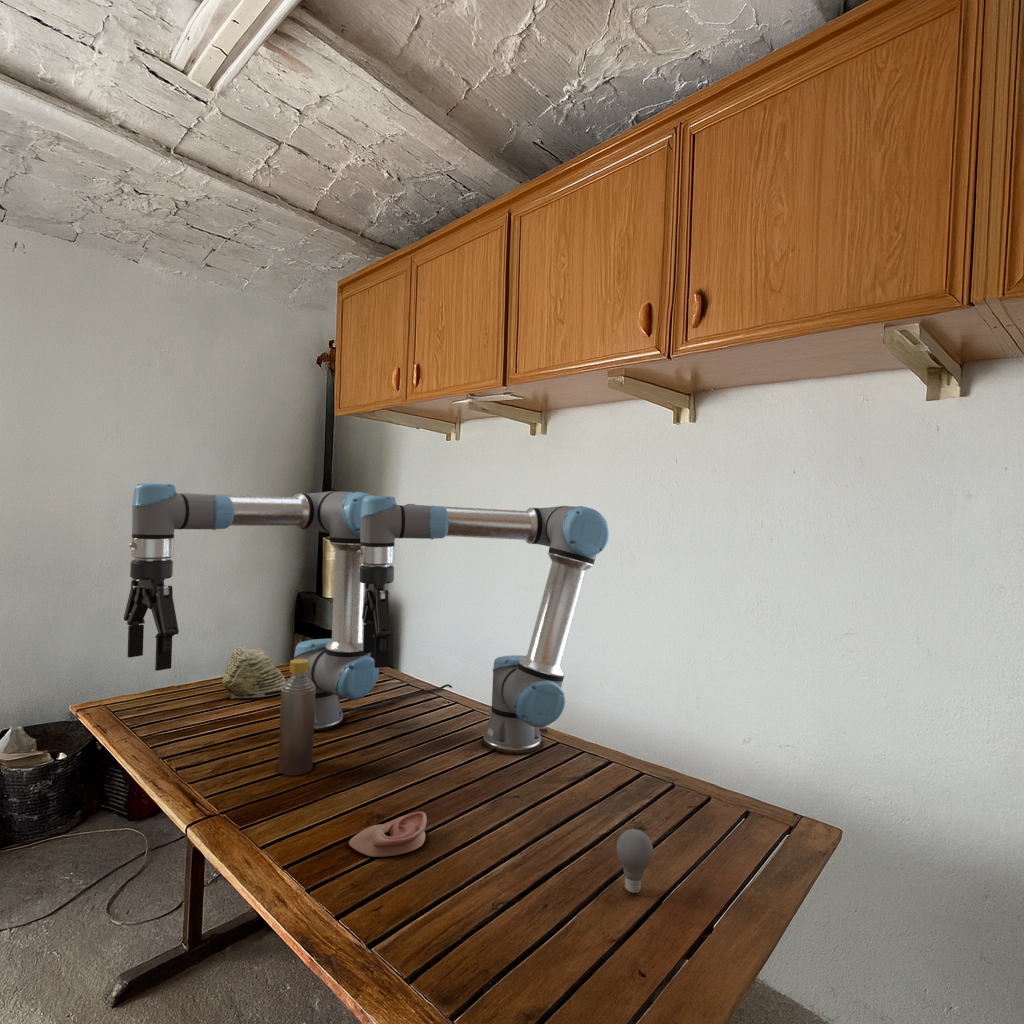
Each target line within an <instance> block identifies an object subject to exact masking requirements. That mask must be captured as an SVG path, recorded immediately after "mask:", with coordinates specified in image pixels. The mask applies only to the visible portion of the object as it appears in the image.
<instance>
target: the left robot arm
mask: <svg viewBox="0 0 1024 1024" xmlns="http://www.w3.org/2000/svg"><path fill="white" fill-rule="evenodd" d="M366 496H373V494H370V493H367V492H363V491H362V492H361V491H337V490H336V491H335V490H333V491H332V490H330V491H321V492H311V493H295V494H294V495H293V496H276V495H275V496H274V495H273V496H272V495H248V494H247V495H246V494H244V495H243V494H220V493H219V494H218V493H217V494H216V493H215V494H214V493H189V492H187V493H186V492H177V491H176V486H175V485H174V484H173V483H152V482H139V483H137V484H136V485H135V486H134V488H133V492H132V501H131V520H132V521H131V542H130V543H128V547H129V548H130V549H131V550H130V556H131V558H133V559H132V560H131V561H130V567H129V568H130V571H129V574H130V575H129V576H130V578H131V581H130V590H129V594H128V598H127V603H126V607H125V610H124V615H123V621H124V622H126V624H127V626H128V629H127V630H128V631H127V658H135V657H142V656H144V635H145V634H144V630H145V625H144V624H145V623H146V621H145V619H144V618H145V616H146V615H147V612H148V609H149V610H151V613H152V618H153V620H154V624H155V627H156V631H157V633H156V635H155V636H154V638H155V661H154V663H155V665H154V668H155V669H154V670H155V671H157V672H159V671H164V670H169V669H172V659H173V657H172V655H173V637H175V636H176V635H179V632H180V631H179V625H178V619H177V615H176V614H177V613H176V609H175V603H174V597H173V595H174V593H173V585H165V580H167V579H171V578H172V577H173V575H174V573H173V572H174V561H173V560H172V559H171V558H173V557H174V554H175V553H174V552H175V530H213V531H215V530H224V529H228V528H230V526H233V527H234V526H237V527H238V526H240V527H243V526H246V527H247V526H249V527H250V526H258V527H259V526H268V527H269V526H276V527H277V526H282V527H284V526H285V527H286V526H287V527H288V526H289V527H290V526H291V527H293V528H294V529H296V530H308V531H309V530H310V531H316V532H319V533H325V534H329V544H330V545H331V546H332V547H333V548H334V550H335V551H334V572H333V573H334V577H333V599H332V625H331V626H332V627H331V638H317V639H308V640H304V641H300V642H299V643H297V645H296V646H295V650H294V655H293V657H294V659H307V660H309V670H308V672H306V673H305V675H307V677H309V678H310V680H312V682H313V683H314V684H315V687H316V691H315V717H314V733H316V732H325V731H329V730H332V729H335V728H337V727H339V726H340V725H342V723H343V722H344V714H343V712H346V711H349V712H350V711H364V710H365V711H366V710H370V709H375V708H379V707H382V706H386V705H389V704H392V703H394V702H396V701H399V700H402V699H405V698H408V697H411V696H416V695H420V694H426V693H431V692H436V691H440V690H442V689H445V688H447V687H448V688H450V689H453V686H452V685H451V684H450V683H449V684H444V685H442V686H440V687H436V688H431V689H424V690H419V691H414V692H410V693H408V694H404V695H402V696H398V697H395V698H393V699H391V700H388V701H385V702H381V703H378V704H374V705H369V706H363V707H343V708H342V706H341V702H340V699H339V698H341V699H342V700H343V699H344V700H348V701H349V700H350V701H357V700H360V699H362V698H364V697H365V696H367V695H368V694H370V692H371V690H372V689H374V687H375V685H376V683H377V682H378V678H379V674H380V672H379V671H380V670H379V669H380V668H375V667H374V661H375V658H374V657H371V653H372V652H368V653H363V632H364V622H363V619H362V613H363V605H364V597H365V583H361V582H360V580H359V577H360V567H361V566H362V565H363V564H362V563H360V555H361V554H358V550H361V548H360V547H361V545H360V533H361V517H360V516H361V507H362V500H363V498H364V497H366Z"/></svg>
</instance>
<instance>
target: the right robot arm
mask: <svg viewBox="0 0 1024 1024" xmlns="http://www.w3.org/2000/svg"><path fill="white" fill-rule="evenodd" d="M360 517H361V533H360V545H361V547H360V548H361V550H358V554H361V555H360V563H362V564H363V565H362V566H361V567H360V577H359V580H360V582H361V583H365V597H364V605H363V613H362V619H363V622H364V632H363V653H368V652H371V653H374V660H375V661H374V667H375V668H379V669H380V668H381V669H382V668H388V665H389V637H391V636H392V628H391V616H390V603H389V595H390V591H389V590H388V589H385V585H386V584H391V583H394V580H395V567H394V564H395V556H396V555H395V553H396V551H395V549H396V545H395V541H396V539H418V540H419V539H422V540H423V539H425V540H427V539H428V540H429V539H430V540H435V539H444V538H445V537H455V538H478V539H497V540H498V539H499V540H517V541H518V540H519V541H523V540H524V541H525V542H526V543H527V544H528V545H538V546H539V545H540V546H545V547H548V552H547V555H548V556H549V558H550V560H551V564H550V568H549V571H548V575H547V579H546V583H545V587H544V591H543V595H542V597H541V602H540V604H539V605H540V606H539V609H538V614H537V617H536V621H535V624H534V628H533V631H532V635H531V639H530V643H529V647H528V650H527V653H526V655H521V654H519V655H518V654H517V655H514V654H512V655H502V656H501V655H500V656H497V657H496V658H494V661H493V666H492V667H493V668H492V691H491V713H490V716H489V719H488V721H487V724H486V727H485V729H484V732H483V741H482V743H483V745H484V746H485V747H486V748H487V749H489V750H492V751H494V752H498V753H502V754H507V755H508V754H509V755H520V754H521V755H522V754H528V753H532V752H534V751H537V750H538V749H540V747H541V746H542V745H541V744H542V735H541V733H548V728H544V727H547V726H550V725H552V724H553V723H554V722H556V721H557V720H558V719H559V718H560V717H561V715H562V713H563V712H564V710H565V705H566V696H565V693H564V690H563V688H562V687H563V683H564V678H565V675H566V674H565V672H564V669H563V668H562V661H563V657H564V655H565V651H566V646H567V642H568V639H569V635H570V632H571V631H570V630H571V627H572V624H573V620H574V617H575V616H574V615H575V613H576V608H577V604H578V602H579V598H580V594H581V589H582V585H583V582H584V578H585V575H586V572H587V570H590V569H591V568H593V567H594V565H595V561H596V557H597V555H599V554H600V553H601V552H602V551H603V550H605V548H606V547H607V545H608V542H609V539H610V528H609V525H608V522H607V521H606V518H605V517H604V515H602V513H600V512H599V511H597V510H596V509H594V508H591V507H588V506H582V505H578V506H573V505H572V506H570V505H559V506H558V505H557V506H550V507H549V506H547V507H528V509H526V510H515V509H514V510H513V509H496V508H478V507H462V506H457V507H456V506H445V505H444V506H443V505H426V504H425V505H424V504H415V503H407V504H404V505H400V504H397V501H396V498H395V496H384V495H372V496H366V497H364V498H363V500H362V507H361V516H360Z"/></svg>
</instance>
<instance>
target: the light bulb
mask: <svg viewBox="0 0 1024 1024" xmlns="http://www.w3.org/2000/svg"><path fill="white" fill-rule="evenodd" d="M615 849H616V854H617V857H618V859H619V861H620V863H621V865H622V867H623V873H624V874H623V875H624V876H625V878H624V888H625V890H627V891H628V892H630V893H634V894H635V893H639V892H640V891H641V889H642V887H641V886H642V879H643V877H644V875H645V871H646V868H647V867H648V866H649V864H650V863H651V861H652V859H653V855H654V847H653V843H652V841H651V838H649V836H648V835H647V834H646V833H645V832H643V831H642V830H641V829H636V828H629V829H627V830H625V831H623V832H622V833H621V834H620V835H619V837H618V839H617V841H616V847H615Z"/></svg>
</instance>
